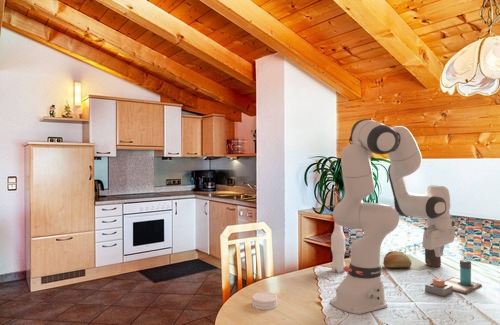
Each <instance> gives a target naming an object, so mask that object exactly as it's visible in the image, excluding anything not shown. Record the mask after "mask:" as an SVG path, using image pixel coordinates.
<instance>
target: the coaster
mask: <svg viewBox="0 0 500 325" xmlns="http://www.w3.org/2000/svg"><path fill="white" fill-rule="evenodd" d="M251 305H252V307H253V308H254V309H257V310H259V311H260V310H261V311H269V310H273V309H275V308H277V307H278V296H277V294H275V293H273V292H268V291H261V292H256V293H254V294H253V295H252V297H251Z"/></svg>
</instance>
